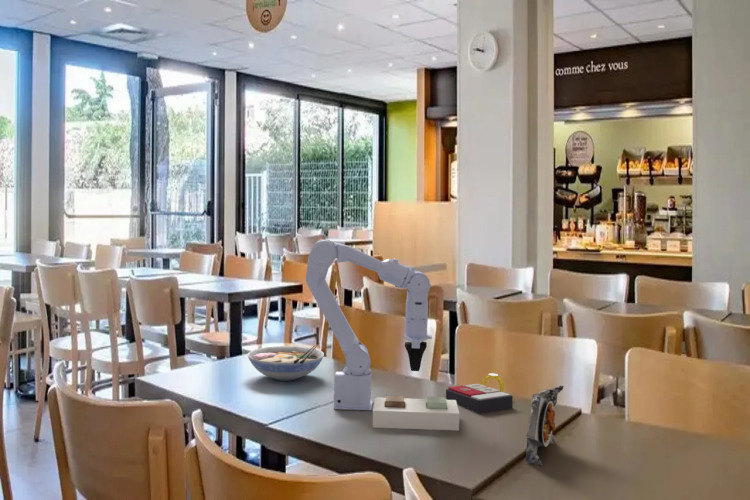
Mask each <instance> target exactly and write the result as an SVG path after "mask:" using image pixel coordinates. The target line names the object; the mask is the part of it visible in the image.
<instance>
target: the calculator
mask: <svg viewBox="0 0 750 500" xmlns="http://www.w3.org/2000/svg"><path fill="white" fill-rule="evenodd" d="M445 398H446V400H456V402H457V406H461V407H463V408H467V409H468V410H469V411H472V412H474V413H475V414H479V415H481V414H488V413H494V412H500V411H505V410H507V411H508V410H513V404H514V403H513V402H514V401H513V395H511V394H510V393H507V392H504V391H503V392H500V389H497V388H494V387H490V386H489V387H488V386H486V385H485V386H484V385H482V383H473V384H471V383H470V384H465V385H456V386H448V387H447V389H445Z"/></svg>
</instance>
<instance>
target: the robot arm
mask: <svg viewBox="0 0 750 500" xmlns="http://www.w3.org/2000/svg"><path fill="white" fill-rule="evenodd" d="M336 259H337V260H336ZM335 260H336V261H337V263H338V264H339V263H345V262H350V263H352V264H355V265H358V266H360V267H363V268H365V269H368V270H369V271H373V272H375V273H377V275H378V278H379V280H381V281H383V282H386V283H387V284H391V285H392V286H395V287H398V288H400V289H403V290H404V289H406V300H405V317H404V318H405V322H404V323H405V324H404V325H405V326H404V328H405V329H404V336H403V338H404V339H405V340H406V341H405V343H404V347H405V350H406V352H407V356H408V360H409V368H410V371H411V372H420V369H421V364H422V359H423V356H424V353H425V351H426V350H427V348H428V345H427V344H428V343H427V342H426V340H432V335H430V334H428V319H429V318H428V317H429V301H428V299H429V291H430V290H431V286H432V285H431V283H430V279H429V278H428V275H426V274H424V273H423V272H421V271H420V270H418V269H416V267H414V266H410V267H409V266H407V265H404V264H402V263H400V262H399V260H398V259H396V258H392V259H391V258H386V259H384V260H380V259H378V258H376V257H373V256H371V255H369V254H367V253H364V252H362V251H360V250H359V249H356V248H354V247H352V246H349V245H346V244H343V243H339V242H336V241H334V242H333V241H332V240H329V239H327V238H326V239H325V238H324V239H323V238H322V239H318V240H317V241H315V243H313V246H312V248H311V251H310V252H309V254H308V257H307V265H306V266H307V267H306V275H305V283H306V285H307V287H308V289H309V291H310V293H311V294H312V296H313V298H314V300H315V302H316V303H317V305H318V307H319V309H320V311H321V313H322V315H323V316H324V318H325V321H326V322H327V324H328V325H329V327H330V330H331V331H332V333H333V334H334V337H335V339H336V340H337V341H338V344H339V346H340V349H341V351H342V354H343V356H344V358H345V366H344V368H343V369H342V371H341V370H339V371H335V375H334V388H333V389H334V392H333V402H334V403H333V409H334V410H344V411H345V410H347V411H348V410H351V411H353V410H354V411H372V410H373V403H374V401H373V400H372V399H371V398H372V397H371V396H372V395H371V394H372V392H371V391H372V389H371V388H372V369H371V368H370V367H371V363H372V362H371V360H372V359H371V356H370V353H369V349H368V348H367V346H366V345H365V344H363V343H362V342H360V341H361V340H359V338H358V336H357V335H356V333H355V331H354V330H353V328H352V327H351V325H350V322H349V321H348V319H347V318H346V316H345V314H344V312H343V310H342V308H341V306H340V305H339V303H338V301H337V298H336V297H335V295H334V294H333V291H332V290H331V288H330V286H329V284H328V282H327V281H326V278H327V275H328V272H329V269H330V267H331V266H332V265H333V263H334V262H335Z"/></svg>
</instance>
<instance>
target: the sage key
mask: <svg viewBox="0 0 750 500" xmlns="http://www.w3.org/2000/svg"><path fill="white" fill-rule="evenodd" d="M426 399H427V409H446V407H447V402H446V400H447V399H446V397H439V396H438V397H437V396H435V397H434V396H427V397H426Z"/></svg>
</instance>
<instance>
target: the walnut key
mask: <svg viewBox="0 0 750 500" xmlns="http://www.w3.org/2000/svg"><path fill="white" fill-rule="evenodd" d="M385 398H386V407H393V408H404V398H405V396H403V395H386V396H385Z"/></svg>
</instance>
